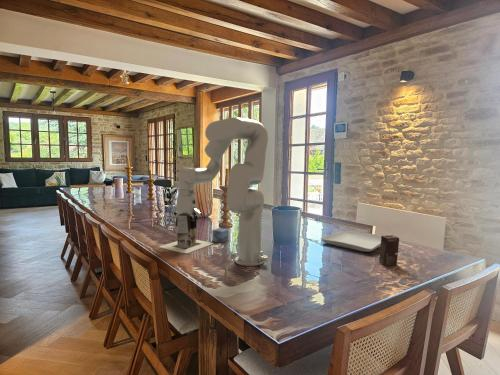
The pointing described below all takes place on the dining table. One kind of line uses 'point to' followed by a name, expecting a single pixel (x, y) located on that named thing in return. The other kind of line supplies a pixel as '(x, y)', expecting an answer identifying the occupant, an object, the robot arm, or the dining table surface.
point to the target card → (186, 251)
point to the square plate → (354, 240)
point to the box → (389, 250)
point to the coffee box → (185, 232)
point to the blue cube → (220, 235)
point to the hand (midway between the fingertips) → (186, 227)
